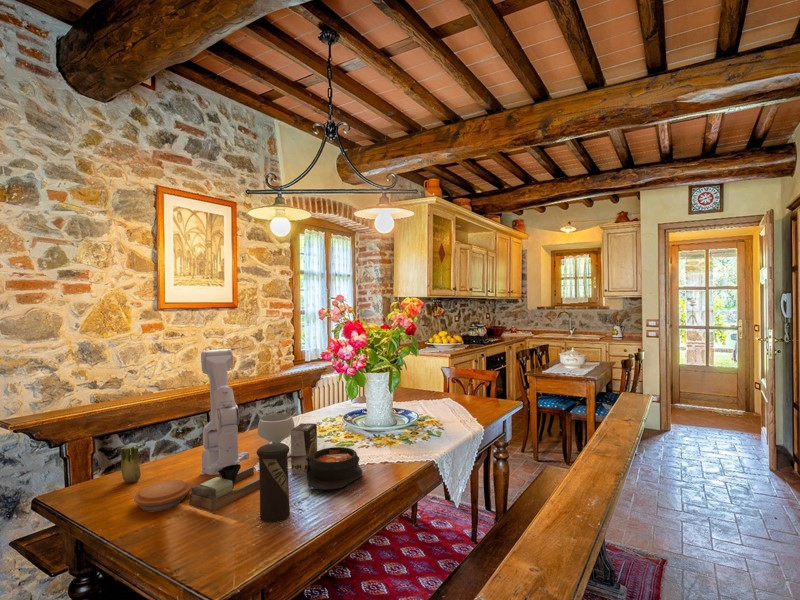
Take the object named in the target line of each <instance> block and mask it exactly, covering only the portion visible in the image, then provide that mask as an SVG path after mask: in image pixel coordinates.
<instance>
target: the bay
mask: <svg viewBox="0 0 800 600" xmlns="http://www.w3.org/2000/svg"><path fill="white" fill-rule="evenodd" d="M254 470H255V469H254V466H249V467H247V468H246V467H245V468H244V469H242V470H239V472H238V474H237V476H236V479H235V483H234V484H236V483H238V482H240V481H242V480H244V479H246V478H248V477H250V476H253V475H254V472H255V471H254ZM257 489H260V477H258V478H256V479H253V480H252V481H250V482H248V483H246V484H244V485H242V486H240V487H237V488H235V489H233V491H231V492H229V493H227V494H225V495H223V496H221V497H219V498H215V490H212V489H209V488H205V487H202V486H200V485H197V484H195V485H192V486H191V489H190V491H189V492H188V500H189V501H188V502H189V507H191V506H192V508H194V509H198V510H200V511H203V512H206V513H210V514H213V515H216V513H215V511H216V510H218V509H220V508H223V507H224V506H226V505H229V504H230V503H232V502H234V501H235V500H238V499H240V498H241V497H244V496H245V495H248V494H249V493H252V492H253V491H256V490H257ZM190 504H192V505H190ZM193 505H196V506H193ZM197 506H199V507H197ZM200 507H201V508H200ZM203 508H204V509H203ZM207 509H209V510H212V511H214V512H212V511H209V510H207Z"/></svg>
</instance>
